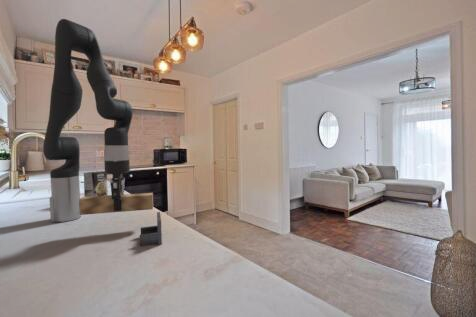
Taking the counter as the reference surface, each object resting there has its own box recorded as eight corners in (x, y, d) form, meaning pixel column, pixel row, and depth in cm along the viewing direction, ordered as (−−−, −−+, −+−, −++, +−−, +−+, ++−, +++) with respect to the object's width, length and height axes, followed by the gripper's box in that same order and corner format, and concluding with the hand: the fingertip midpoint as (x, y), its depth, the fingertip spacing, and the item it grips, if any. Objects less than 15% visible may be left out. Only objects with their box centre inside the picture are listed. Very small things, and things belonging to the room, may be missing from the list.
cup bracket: (139, 247, 66) (138, 223, 66) (141, 235, 75) (140, 214, 75) (161, 244, 68) (161, 221, 68) (160, 232, 77) (159, 212, 77)
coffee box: (95, 204, 117) (93, 172, 116) (84, 204, 118) (82, 172, 118) (108, 200, 126) (107, 170, 125) (98, 200, 127) (97, 170, 127)
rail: (79, 215, 74) (79, 199, 74) (83, 211, 78) (83, 196, 78) (152, 209, 81) (152, 195, 81) (153, 206, 85) (152, 192, 84)
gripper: (108, 157, 84) (109, 204, 85) (100, 160, 70) (102, 216, 71) (131, 157, 86) (132, 202, 87) (127, 160, 73) (128, 213, 74)
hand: (118, 208), depth 79 cm, fingers closed on rail, 4 cm apart
